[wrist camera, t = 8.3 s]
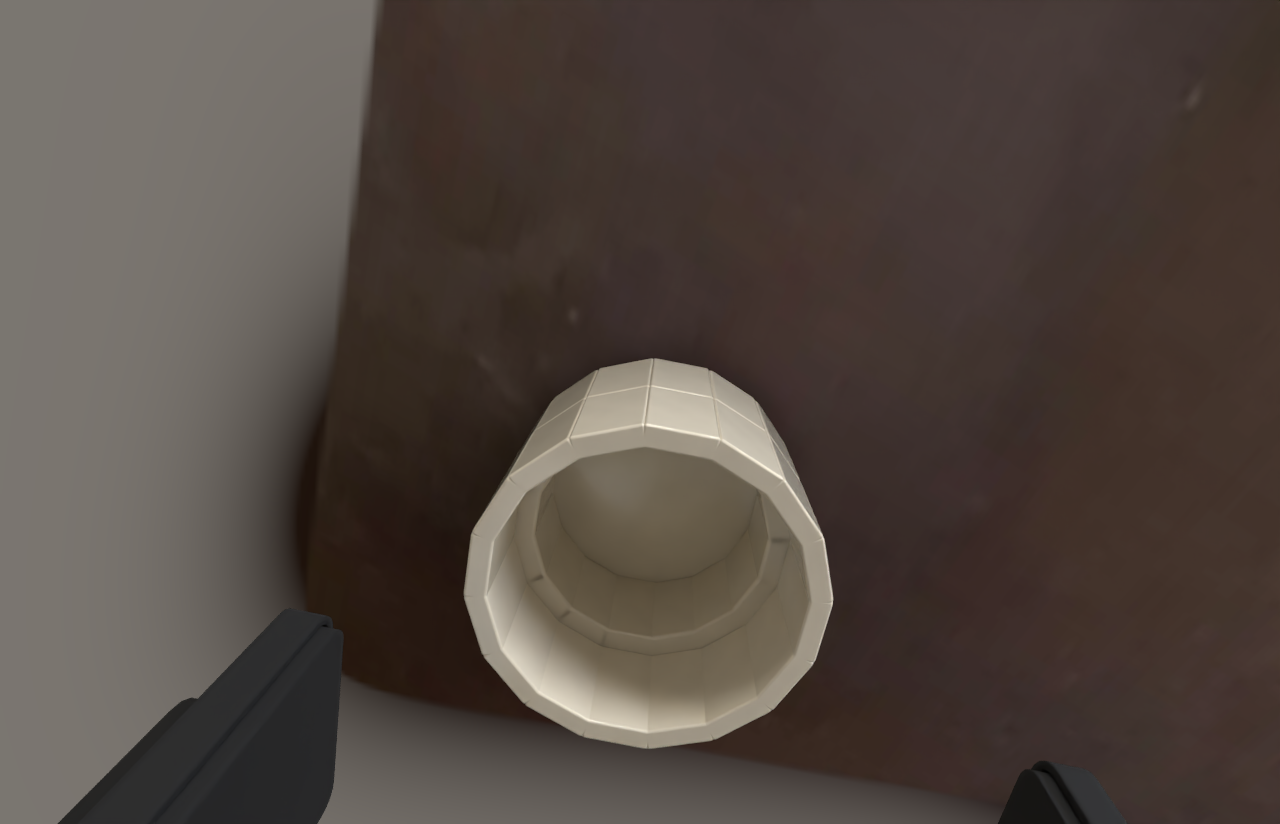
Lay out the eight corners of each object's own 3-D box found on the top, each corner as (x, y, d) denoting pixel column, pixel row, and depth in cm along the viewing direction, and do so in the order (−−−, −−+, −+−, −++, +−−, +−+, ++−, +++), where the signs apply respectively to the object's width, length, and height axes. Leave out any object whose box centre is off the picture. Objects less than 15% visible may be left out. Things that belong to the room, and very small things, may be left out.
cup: (508, 572, 20) (448, 712, 15) (544, 331, 18) (487, 392, 12) (753, 619, 20) (780, 775, 15) (817, 384, 18) (876, 468, 12)
